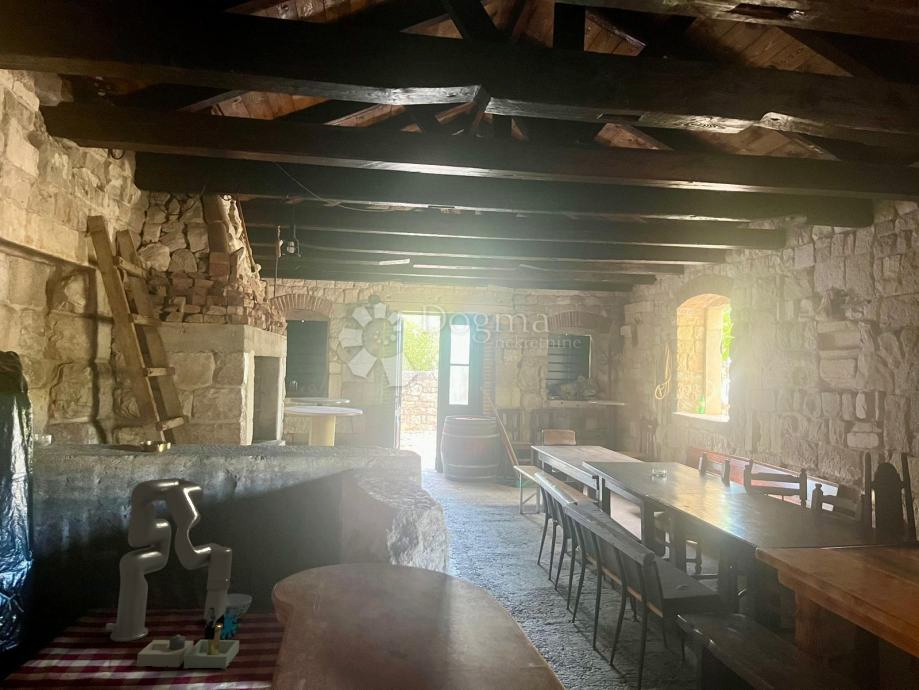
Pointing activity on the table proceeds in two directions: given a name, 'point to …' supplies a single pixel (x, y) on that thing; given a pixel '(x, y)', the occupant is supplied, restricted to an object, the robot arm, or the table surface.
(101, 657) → the table surface
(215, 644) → the pin
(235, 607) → the chinaware
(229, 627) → the teal lobed piece
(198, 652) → the tray
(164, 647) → the beige boxy piece
